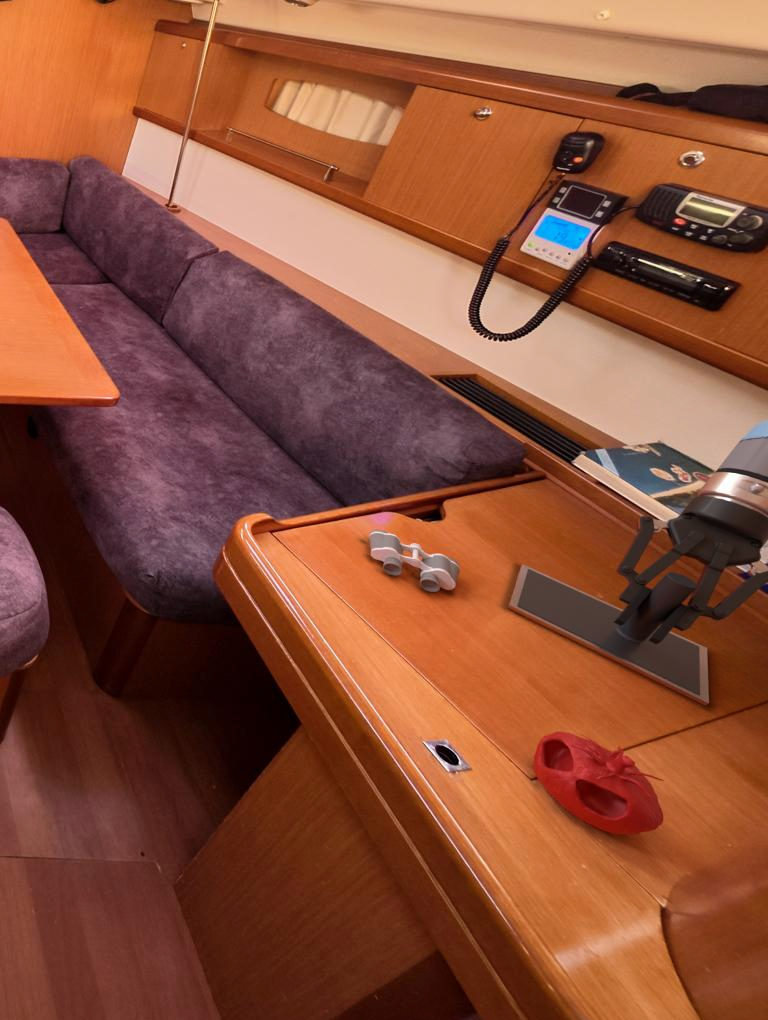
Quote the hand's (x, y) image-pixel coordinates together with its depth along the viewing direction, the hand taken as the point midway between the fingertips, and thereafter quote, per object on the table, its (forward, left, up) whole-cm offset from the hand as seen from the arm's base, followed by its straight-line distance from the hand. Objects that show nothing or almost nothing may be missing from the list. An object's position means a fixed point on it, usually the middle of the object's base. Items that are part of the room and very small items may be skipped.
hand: (636, 631), depth 93 cm
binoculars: (+24, +6, -5) cm, 25 cm away
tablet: (+2, -4, -4) cm, 6 cm away
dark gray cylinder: (-1, -4, -4) cm, 5 cm away
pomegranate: (+2, +35, -5) cm, 36 cm away
